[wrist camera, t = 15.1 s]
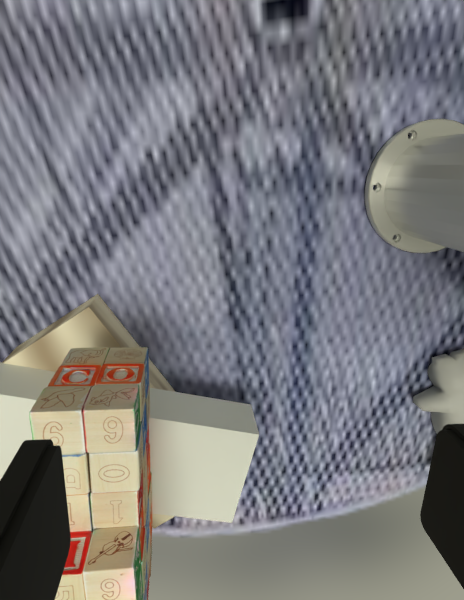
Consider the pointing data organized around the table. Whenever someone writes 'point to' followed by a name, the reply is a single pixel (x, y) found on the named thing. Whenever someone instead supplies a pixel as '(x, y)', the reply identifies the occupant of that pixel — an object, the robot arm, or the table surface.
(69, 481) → the stack of blocks
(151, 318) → the table surface
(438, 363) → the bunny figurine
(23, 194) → the table surface
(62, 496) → the robot arm
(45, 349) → the lower slab
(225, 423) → the upper slab
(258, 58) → the table surface
